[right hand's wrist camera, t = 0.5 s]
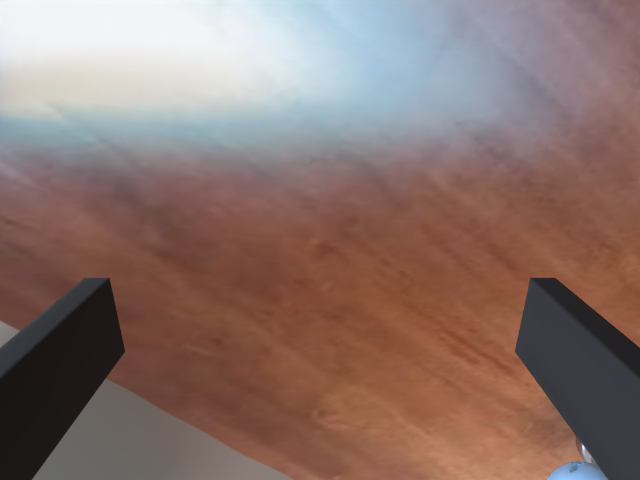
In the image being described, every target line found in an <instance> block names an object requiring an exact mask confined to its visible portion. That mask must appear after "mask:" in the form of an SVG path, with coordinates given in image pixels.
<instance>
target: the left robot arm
mask: <svg viewBox="0 0 640 480" xmlns="http://www.w3.org/2000/svg"><path fill="white" fill-rule="evenodd" d="M576 444H577V448H578V451H579V453H580V455H581V456H582V458H583V459H584V461H585V462H579V461H578V462H570V463H566V464H564V465H562V466H560V467H558V468H557V469H556V470H554V471H553V472H552V473H551V474H550V476H549V477H548V478H547V479H546V480H608V479H607V477H606V476H605V475H604V473H603V472H602V470H601V469H600V468H599V466H598V465H597V464H596V462H595V461H594V459H593V458H592V457H591V455H590V454H589V453H588V451H587V450H586V448H585V447H584V446H583V444H582V443H581V442H580V440H579V439H578V437H577V436H576Z"/></svg>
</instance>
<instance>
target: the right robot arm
mask: <svg viewBox="0 0 640 480" xmlns="http://www.w3.org/2000/svg"><path fill="white" fill-rule="evenodd" d="M124 352H125V349H124V344H123V340H122V335H121V330H120V325H119V321H118V316H117V311H116V307H115V302H114V297H113V292H112V288H111V283H110V278H84V279H83V280H82V281H81V282H79V283H78V284H77V285H76V286H75V287H73V288H72V289H71V290H70V291H68V292H67V293H66V294H65V295H64V296H62V297H61V298H60V299H59V300H58V301H56V302H55V303H54V304H53V305H52V306H50V307H49V308H48V309H47V310H46V311H44V312H43V313H42V314H41V315H39V316H38V317H37V318H36V319H35V320H33V321H32V322H31V323H30V324H29V325H27V326H26V327H25V328H24V329H23V330H21V331H20V332H19V333H18V334H17V335H15V336H14V337H13V338H12V339H10V340H9V341H8V342H7V343H6V344H4V345H3V346H2V347H1V348H0V480H32V479H33V477H34V476H35V474H36V473H37V472H38V470H39V469H40V468H41V466H42V465H43V463H44V462H45V461H46V459H47V458H48V457H49V455H50V454H51V452H52V451H53V450H54V448H55V447H56V446H57V444H58V443H59V442H60V440H61V439H62V437H63V436H64V435H65V433H66V432H67V431H68V429H69V428H70V426H71V425H72V424H73V422H74V421H75V420H76V418H77V417H78V415H79V414H80V413H81V411H82V410H83V409H84V407H85V406H86V404H87V403H88V402H89V400H90V399H91V398H92V396H93V395H94V393H95V392H96V391H97V389H98V388H99V387H100V385H101V384H102V382H103V381H104V380H105V378H106V377H107V376H108V374H109V373H110V371H111V370H112V369H113V367H114V366H115V365H116V363H117V362H118V360H119V359H120V358H121V356H122V355H123V354H124ZM515 352H516V354H517V355H518V356H519V358H520V359H521V360H522V362H523V363H524V365H525V366H526V367H527V369H528V370H529V371H530V373H531V374H532V376H533V377H534V378H535V380H536V381H537V382H538V384H539V385H540V387H541V388H542V389H543V391H544V392H545V393H546V395H547V396H548V398H549V399H550V400H551V402H552V403H553V404H554V406H555V407H556V409H557V410H558V411H559V413H560V414H561V415H562V417H563V418H564V420H565V421H566V422H567V424H568V425H569V426H570V428H571V429H572V431H573V432H574V433H575V435H576V436H577V437H578V439H579V440H580V442H581V443H582V444H583V446H584V447H585V448H586V450H587V451H588V453H589V454H590V455H591V457H592V458H593V459H594V461H595V462H596V464H597V465H598V466H599V468H600V469H601V470H602V472H603V473H604V475H605V476H606V477H607V479H608V480H640V348H639V347H638V346H637V345H636V344H634V343H633V342H632V341H631V340H630V339H628V338H627V337H626V336H625V335H624V334H622V333H621V332H620V331H619V330H617V329H616V328H615V327H614V326H613V325H611V324H610V323H609V322H608V321H607V320H605V319H604V318H603V317H602V316H601V315H599V314H598V313H597V312H596V311H594V310H593V309H592V308H591V307H590V306H588V305H587V304H586V303H585V302H584V301H582V300H581V299H580V298H579V297H578V296H576V295H575V294H574V293H573V292H572V291H570V290H569V289H568V288H567V287H565V286H564V285H563V284H562V283H561V282H559V281H558V280H557V279H556V278H530V283H529V288H528V292H527V297H526V302H525V307H524V311H523V316H522V321H521V325H520V330H519V335H518V340H517V344H516V349H515Z"/></svg>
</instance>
